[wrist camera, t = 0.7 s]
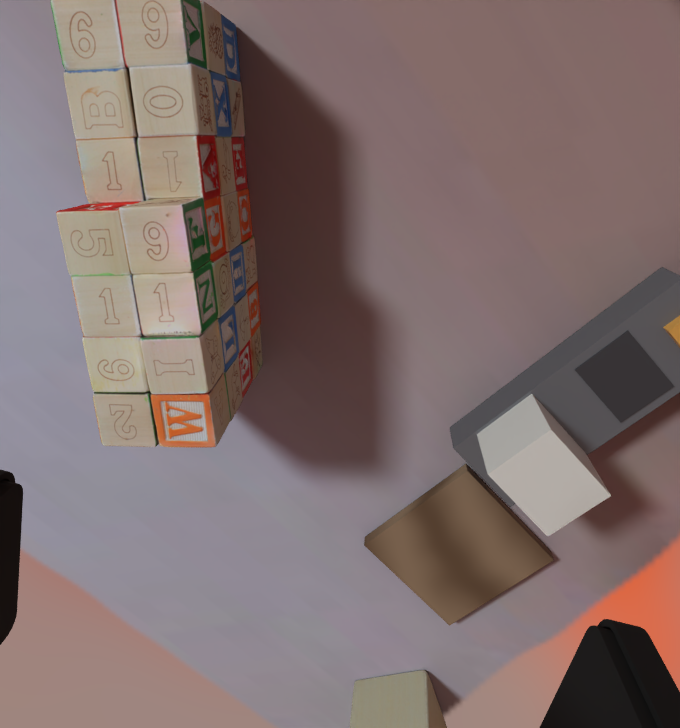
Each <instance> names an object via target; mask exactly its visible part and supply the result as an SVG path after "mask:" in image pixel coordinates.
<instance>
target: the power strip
mask: <svg viewBox="0 0 680 728" xmlns="http://www.w3.org/2000/svg"><path fill="white" fill-rule="evenodd" d="M679 392H680V275H677V274H675V273H673V272H671V271H669V270H667V269H665V268H663V267H661V268H660V269H658V270H657V271H656V272H655V273H653V274H652V275H651V276H649V277H648V278H647V279H645V280H644V281H643V282H641V283H640V284H639V285H637V286H636V287H635V288H633V289H632V290H631V291H629V292H628V293H627V294H625V295H624V296H623V297H622V298H620V299H619V300H618V301H616V302H615V303H614V304H612V305H611V306H610V307H608V308H607V309H606V310H604V311H603V312H602V313H600V314H599V315H598V316H596V317H595V318H594V319H592V320H591V321H590V322H589V323H587V324H586V325H585V326H583V327H582V328H581V329H579V330H578V331H577V332H575V333H574V334H573V335H571V336H570V337H569V338H567V339H566V340H565V341H563V342H562V343H561V344H559V345H558V346H557V347H556V348H554V349H553V350H552V351H550V352H549V353H548V354H546V355H545V356H544V357H542V358H541V359H540V360H538V361H537V362H536V363H534V364H533V365H532V366H530V367H529V368H528V369H526V370H525V371H524V372H523V373H521V374H520V375H519V376H517V377H516V378H515V379H513V380H512V381H511V382H509V383H508V384H507V385H505V386H504V387H503V388H501V389H500V390H499V391H497V392H496V393H495V394H493V395H492V396H491V397H490V398H488V399H487V400H486V401H484V402H483V403H482V404H480V405H479V406H478V407H476V408H475V409H474V410H472V411H471V412H470V413H468V414H467V415H466V416H464V417H463V418H462V419H460V420H459V421H458V422H457V423H455V424H454V425H453V426H451V427H450V432H451V438H452V443H453V448H454V449H455V450H456V451H457V452H458V453H459V454H460V455H461V456H462V457H463V459H464V460H465V461H466V462H467V463H468V464H469V465H470V466H471V467H472V468H473V469H474V470H475V471H476V472H477V473H478V474H479V475H480V476H481V477H482V478H483V479H484V480H485V481H486V482H487V483H488V484H489V485H490V486H491V487H492V489H493V490H494V491H495V492H496V493H497V494H498V495H499V496H500V497H501V498H502V499H503V500H504V501H505V502H506V503H507V504H508V505H509V506H510V507H511V506H513V505H514V504H515V502H514V501H513V500H512V499H511V498H510V497H509V496H508V495H507V494H506V493H505V492H504V491H503V490H502V489H501V488H500V487H499V486H498V485H497V484H496V483H495V482H494V480H493V479H492V478H491V477H490V476H489V475H488V474H487V470H486V467H485V463H484V459H483V455H482V452H481V448H480V444H479V441H478V437H477V434H478V433H479V432H481V431H482V430H483V429H485V428H486V427H487V426H489V425H490V424H491V423H493V422H494V421H495V420H497V419H498V418H499V417H501V416H502V415H503V414H505V413H506V412H508V411H509V410H510V409H512V408H513V407H514V406H516V405H517V404H518V403H520V402H521V401H522V400H524V399H525V398H526V397H528V396H529V395H531V394H533V395H534V396H535V398H536V399H537V400H538V401H539V402H540V403H541V404H542V405H543V406H544V408H545V409H546V410H547V411H548V412H549V413H550V414H551V415H552V416H553V417H554V419H555V420H556V421H557V422H558V423H559V424H560V425H561V426H562V427H563V429H564V430H565V431H566V432H567V433H568V434H569V435H570V436H571V437H572V438H573V440H574V441H575V442H576V443H577V444H578V445H579V446H580V447H581V448H582V450H583V451H584V452H585V453H586V455H588V454H589V453H591V452H592V451H594V450H595V449H597V448H598V447H600V446H601V445H603V444H604V443H606V442H607V441H608V440H610V439H611V438H613V437H614V436H616V435H617V434H619V433H620V432H622V431H623V430H625V429H626V428H628V427H629V426H631V425H632V424H634V423H635V422H637V421H638V420H640V419H641V418H642V417H644V416H645V415H647V414H648V413H650V412H651V411H653V410H654V409H656V408H657V407H659V406H660V405H662V404H663V403H665V402H666V401H668V400H669V399H671V398H672V397H673V396H675V395H676V394H678V393H679Z"/></svg>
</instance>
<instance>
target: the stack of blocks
mask: <svg viewBox="0 0 680 728" xmlns="http://www.w3.org/2000/svg"><path fill="white" fill-rule="evenodd" d="M51 8H52V12H53V17H54V23H55V28H56V33H57V38H58V44H59V49H60V54H61V58H62V64H63V66H64V69H65V72H64V81H65V86H66V91H67V97H68V103H69V108H70V113H71V118H72V123H73V130H74V135H75V138H76V147H77V152H78V158H79V163H80V169H81V173H82V178H83V183H84V188H85V193H86V196H87V198H88V201H89V203H90V204H85V205H81V206H78V207H73V208H68V209H65V210H59V211H57V212H56V215H57V220H58V225H59V230H60V235H61V239H62V243H63V248H64V253H65V258H66V263H67V267H68V272H69V274H70V276H71V279H72V285H73V292H74V296H75V301H76V305H77V309H78V314H79V320H80V325H81V329H82V332H83V335H84V336H83V338H82V340H83V345H84V351H85V356H86V361H87V366H88V371H89V376H90V380H91V385H92V389H93V391H94V395H93V401H94V406H95V411H96V417H97V422H98V427H99V432H100V438H101V442H102V444H103V445H104V446H137V447H156V446H157V445H158V444H159V445H160V446H163V447H216V446H217V444H218V443H219V441H220V439H221V437H222V435H223V434H224V432H225V430H226V428H227V426H228V424H229V422H230V421H231V420H232V419H233V417H234V414H236V411H237V410H238V408H239V406H240V405H241V403H242V401H243V397H244V395H245V394H246V392H247V390H248V388H249V386H250V384H251V383H252V380H254V379H255V378H256V376H257V374H258V373H259V370H260V368H261V367H262V364H263V360H262V347H261V333H260V324H261V317H260V304H259V291H258V281H257V262H256V250H255V238H254V236H253V235H252V222H251V210H250V197H249V189H248V187H247V170H246V159H245V148H244V139H243V137H244V136H245V125H244V111H243V98H242V87H241V82H240V68H239V56H238V44H237V32H236V26H235V24H234V23H232V22H231V21H229V20H228V19H227V18H225V17H224V16H223V15H222V14H220V13H219V12H218V11H217V10H215V9H214V8H213V7H211V6H210V5H208V4H207V3H205V2H203V1H199V0H51Z"/></svg>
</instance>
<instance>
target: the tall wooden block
mask: <svg viewBox="0 0 680 728" xmlns="http://www.w3.org/2000/svg"><path fill="white" fill-rule="evenodd" d="M350 728H447V727H446V724H445V721H444V718H443V715H442V712H441V709H440V706H439V703H438V700H437V698H436V695H435V692H434V689H433V686H432V683H431V680H430V678H429V675H428V673H427V672H426V671H425V670H420V671H413V672H408V673H401V674H394V675H388V676H381V677H375V678H369V679H362V680H357V681H355V683H354V690H353V700H352V711H351V721H350Z"/></svg>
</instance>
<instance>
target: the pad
mask: <svg viewBox="0 0 680 728" xmlns="http://www.w3.org/2000/svg"><path fill="white" fill-rule="evenodd" d="M364 545H365V546H366V547H367V548H368V549H369V550H370V551H371V552H372V553H373V554H374V555H375V556H376V557H377V558H378V559H379V560H380V561H382V562H383V563H384V564H385V565H386V566H387V567H388V568H389V569H390V570H391V571H392V572H393V573H394V574H395V575H396V576H397V577H399V578H400V579H401V580H402V581H403V582H404V583H405V584H406V585H407V586H408V587H409V588H410V589H411V590H412V591H413V592H414V593H416V594H417V595H418V596H419V597H420V598H421V599H422V600H423V601H424V602H425V603H426V604H427V605H428V606H429V607H430V608H431V609H433V610H434V611H435V612H436V613H437V614H438V615H439V616H440V617H441V618H442V619H443V620H444V621H445V622H446V623H447V624H448V625H451V624H453V623H454V622H456V621H458V620H459V619H461V618H462V617H464V616H466V615H467V614H469V613H470V612H472V611H474V610H475V609H477V608H478V607H480V606H482V605H483V604H485V603H486V602H488V601H490V600H491V599H493V598H494V597H496V596H497V595H499V594H501V593H502V592H504V591H505V590H507V589H509V588H510V587H512V586H513V585H515V584H517V583H518V582H520V581H521V580H523V579H525V578H526V577H528V576H529V575H531V574H533V573H534V572H536V571H537V570H539V569H541V568H542V567H544V566H545V565H547V564H549V563H550V562H552V561H553V560H554V559H553V556H552V553H551V551H550V550H549V549H548V548H547V547H546V546H545V545H544V544H543V543H542V542H541V541H540V540H539V539H538V538H537V537H536V536H535V535H534V534H533V533H532V532H531V531H530V529H529V528H528V527H527V526H526V525H525V524H524V523H523V522H522V521H521V520H520V519H519V518H518V517H517V516H516V515H515V514H514V513H513V512H512V511H511V510H510V509H509V508H508V507H507V506H506V505H505V504H504V503H503V502H502V501H501V500H500V498H499V497H498V496H497V495H496V494H495V493H494V492H493V491H492V490H491V489H490V488H489V487H488V486H487V485H486V484H485V483H484V482H483V481H482V480H481V479H480V478H479V477H478V476H477V475H476V474H475V473H474V472H473V471H472V470H471V469H470V468H469V466H468V465H467V464H465V465H463V466H462V467H461V468H459V469H458V470H457V471H455V472H454V473H452V474H451V475H450V476H448V477H447V478H446V479H444V480H443V481H441V482H440V483H439V484H437V485H436V486H435V487H433V488H432V489H430V490H429V491H428V492H426V493H425V494H424V495H422V496H421V497H419V498H418V499H417V500H415V501H414V502H413V503H411V504H410V505H408V506H407V507H406V508H404V509H403V510H401V511H400V512H399V513H397V514H396V515H395V516H393V517H392V518H390V519H389V520H388V521H386V522H385V523H384V524H382V525H381V526H379V527H378V528H377V529H375V530H374V531H373V532H371V533H370V534H368V535H367V536H366V537H365V542H364Z"/></svg>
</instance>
